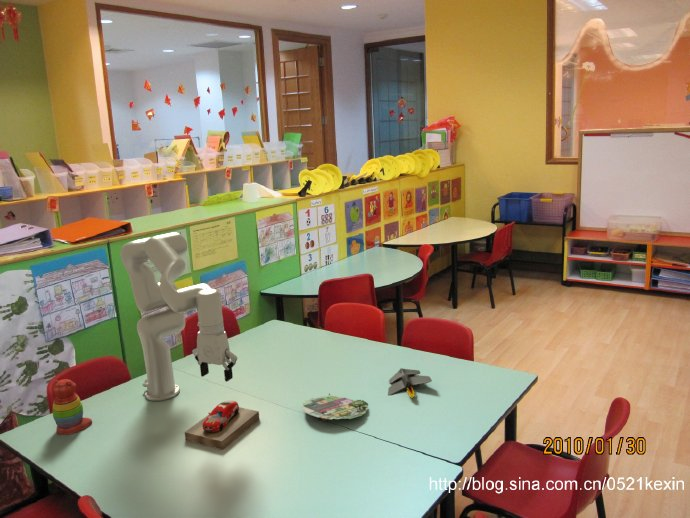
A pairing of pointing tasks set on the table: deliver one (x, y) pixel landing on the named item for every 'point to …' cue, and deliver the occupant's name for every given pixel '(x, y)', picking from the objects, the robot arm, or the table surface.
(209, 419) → the race car
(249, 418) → the walnut base
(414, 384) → the toy plane
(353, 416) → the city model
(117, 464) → the table surface
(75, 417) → the stacking bear
